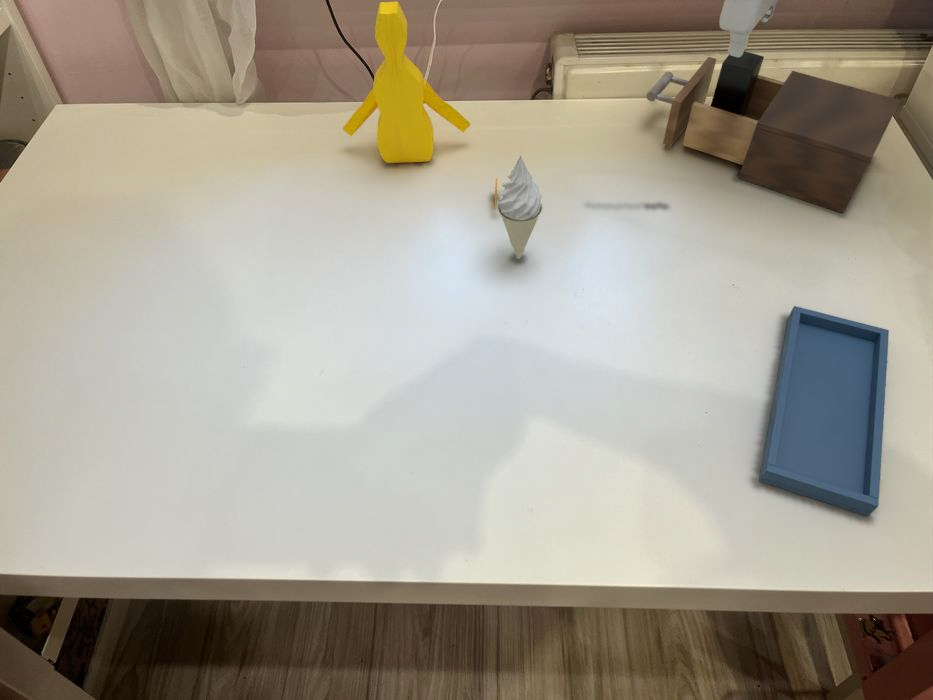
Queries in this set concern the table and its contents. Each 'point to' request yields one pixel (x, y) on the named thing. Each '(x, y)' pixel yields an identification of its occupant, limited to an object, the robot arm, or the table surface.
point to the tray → (828, 411)
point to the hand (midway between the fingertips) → (749, 36)
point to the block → (737, 83)
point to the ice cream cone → (520, 206)
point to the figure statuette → (401, 97)
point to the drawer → (712, 114)
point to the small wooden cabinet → (817, 140)
